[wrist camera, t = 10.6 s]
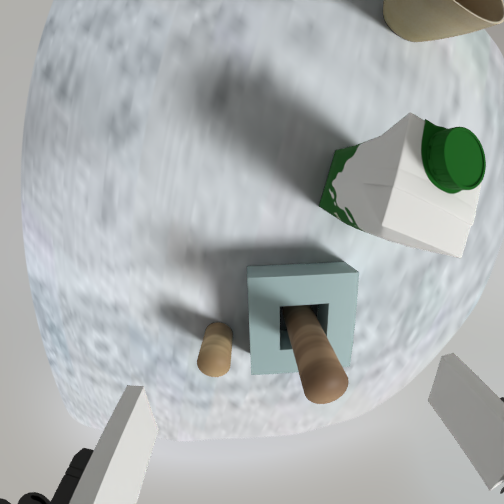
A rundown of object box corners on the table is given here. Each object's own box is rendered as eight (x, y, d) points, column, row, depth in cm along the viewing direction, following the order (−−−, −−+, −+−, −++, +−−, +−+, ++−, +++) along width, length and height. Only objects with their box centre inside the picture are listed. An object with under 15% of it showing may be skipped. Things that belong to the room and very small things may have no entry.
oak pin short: (203, 322, 37) (195, 349, 30) (231, 321, 37) (229, 349, 30) (206, 346, 38) (199, 376, 31) (233, 346, 38) (231, 376, 31)
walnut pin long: (282, 297, 36) (305, 371, 21) (311, 296, 36) (351, 366, 21) (282, 324, 37) (302, 406, 21) (310, 322, 37) (345, 400, 21)
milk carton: (392, 166, 33) (509, 155, 14) (372, 234, 35) (481, 278, 15) (329, 140, 33) (419, 91, 13) (308, 212, 34) (383, 239, 15)
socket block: (247, 266, 35) (247, 277, 31) (344, 261, 36) (358, 272, 31) (250, 353, 38) (251, 374, 33) (338, 347, 38) (349, 366, 33)
